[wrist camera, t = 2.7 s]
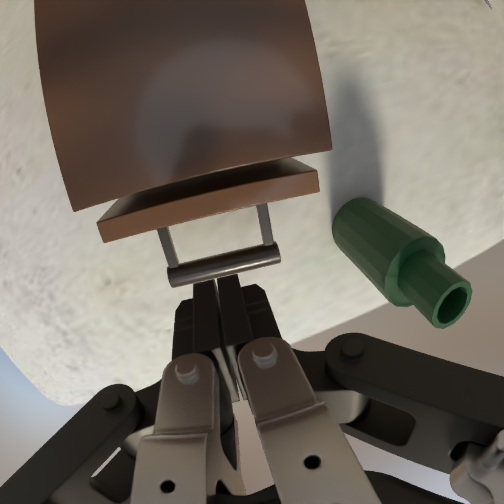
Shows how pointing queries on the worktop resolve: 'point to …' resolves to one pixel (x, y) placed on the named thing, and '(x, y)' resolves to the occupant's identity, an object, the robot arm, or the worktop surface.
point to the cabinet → (175, 89)
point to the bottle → (401, 261)
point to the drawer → (211, 213)
